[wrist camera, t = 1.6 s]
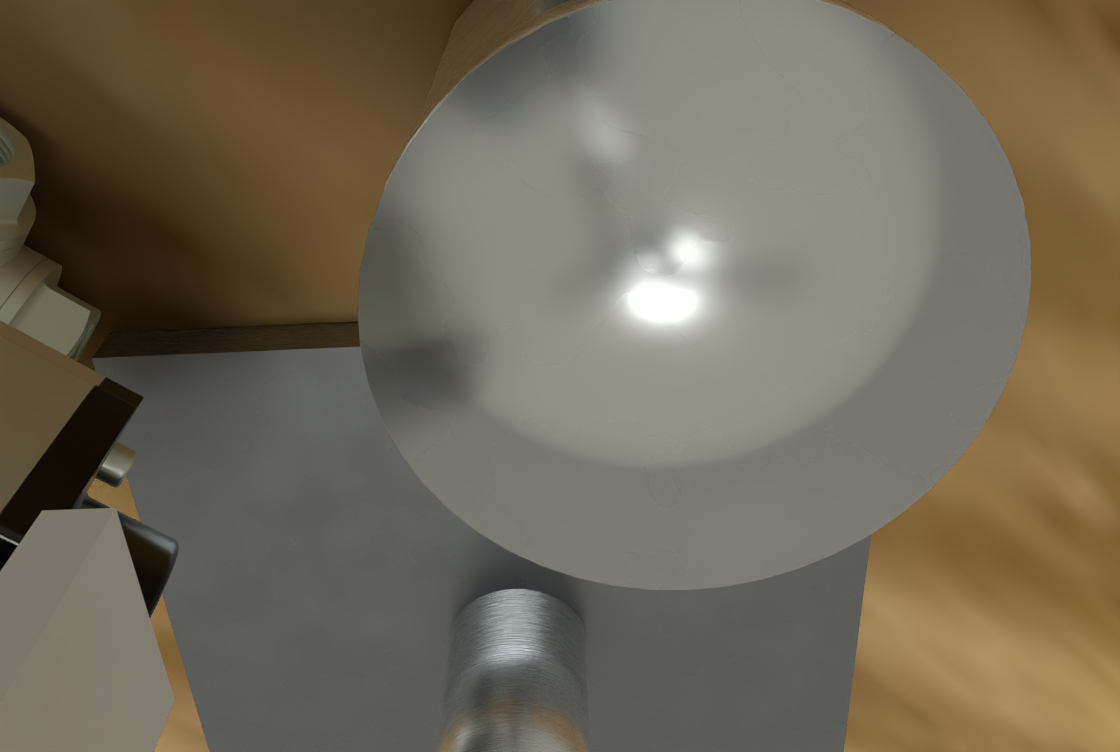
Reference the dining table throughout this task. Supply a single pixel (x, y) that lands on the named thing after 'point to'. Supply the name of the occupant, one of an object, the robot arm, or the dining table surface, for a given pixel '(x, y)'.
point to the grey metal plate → (431, 586)
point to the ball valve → (56, 391)
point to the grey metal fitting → (689, 283)
